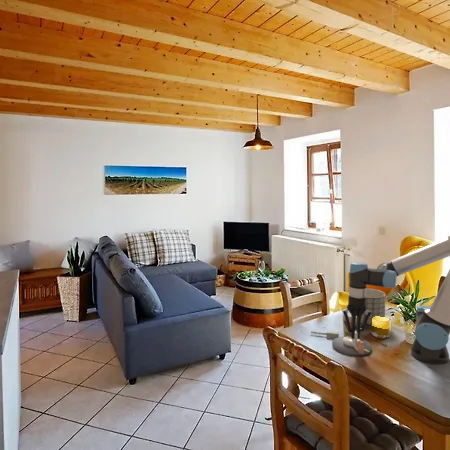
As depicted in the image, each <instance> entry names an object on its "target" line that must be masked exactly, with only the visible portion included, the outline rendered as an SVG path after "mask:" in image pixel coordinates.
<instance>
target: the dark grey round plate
mask: <svg viewBox="0 0 450 450" xmlns="http://www.w3.org/2000/svg"><path fill="white" fill-rule="evenodd" d="M343 338H344V336H339V337H338V338H336V339H333V340H332V343H331V345H332V348H333V349H334V350H335V351H337V352H338V353H341V354H343V355H347V356H355V357H359V356H360V357H362V356H367V355H369V354H370V353H372V345H371V343H370V342H368V341H367V340H364V339H361V338H359V339H360V341H363V342H364V349H365V350H368V351H369V352H367V351H364V353H363V354H359V353H358V351H357V350H356V349H355V348H354V347H350V346H347V345H345V344H343Z"/></svg>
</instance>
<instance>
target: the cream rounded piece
mask: <svg viewBox="0 0 450 450" xmlns="http://www.w3.org/2000/svg"><path fill="white" fill-rule="evenodd" d="M343 337H344V336H343ZM360 339H361V338H359V339H357V347H354V345H353V339H352V338H351V336H347V337H344V338H343V344H345V345H347V346H350V347H354V348H355V349H356V350H357V351H358V353H359V354H363V353H364V342H363V341H360Z"/></svg>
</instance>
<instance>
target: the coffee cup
mask: <svg viewBox="0 0 450 450" xmlns="http://www.w3.org/2000/svg"><path fill="white" fill-rule="evenodd" d="M347 315H348V318H349V322H350V327H351V313H350V312H349V311H348V314H347ZM356 323H357V316H356V320H355V331H356ZM342 331H343V337H347V336H351V331H349V330H348V329H347V325H346V320H345V316H344V313H343V312H342Z"/></svg>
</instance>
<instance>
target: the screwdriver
mask: <svg viewBox="0 0 450 450" xmlns="http://www.w3.org/2000/svg"><path fill="white" fill-rule="evenodd" d="M310 333H311V334H316V335H323V336H326V338H327V339H333V340H334V339H336V338H338V337H340V334H339V333H340V332H339V331H334V330H333V331H332V330H326V332H321V331H312V330H311V331H310Z"/></svg>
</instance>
